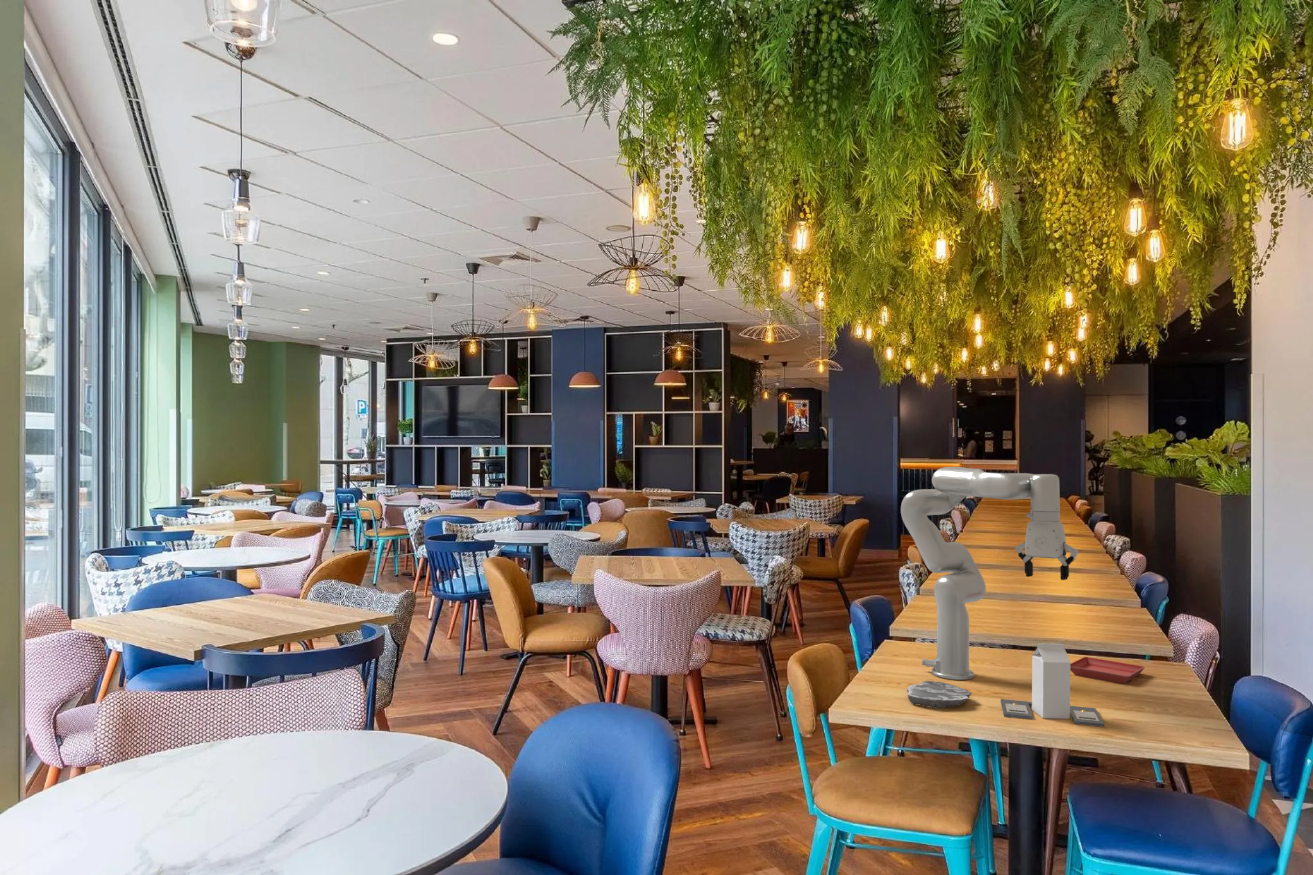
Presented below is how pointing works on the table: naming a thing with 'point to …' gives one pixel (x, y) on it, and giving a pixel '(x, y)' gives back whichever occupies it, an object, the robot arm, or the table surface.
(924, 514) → the robot arm
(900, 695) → the table surface
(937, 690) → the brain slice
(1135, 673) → the plant saucer
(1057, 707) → the milk carton
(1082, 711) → the label panel
